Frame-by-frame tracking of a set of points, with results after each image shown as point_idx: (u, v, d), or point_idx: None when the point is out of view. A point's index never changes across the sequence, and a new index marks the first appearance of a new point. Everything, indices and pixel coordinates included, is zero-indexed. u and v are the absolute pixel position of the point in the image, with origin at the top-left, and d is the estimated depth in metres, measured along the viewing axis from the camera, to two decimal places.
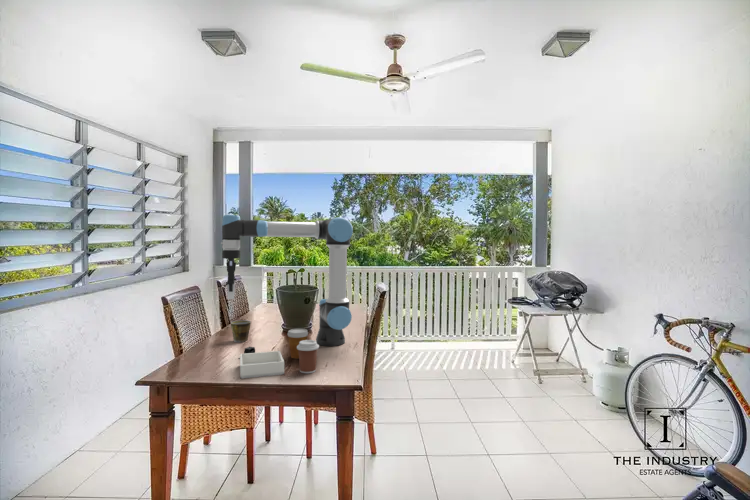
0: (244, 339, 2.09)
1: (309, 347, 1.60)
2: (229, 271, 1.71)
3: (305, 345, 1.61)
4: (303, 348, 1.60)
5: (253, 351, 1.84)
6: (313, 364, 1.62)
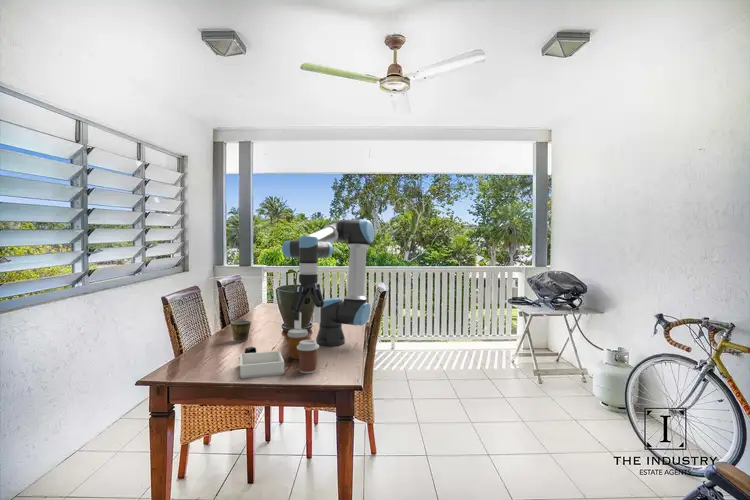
0: (244, 339, 2.09)
1: (309, 347, 1.60)
2: (294, 298, 1.56)
3: (305, 345, 1.61)
4: (303, 348, 1.60)
5: (254, 351, 1.83)
6: (313, 364, 1.62)
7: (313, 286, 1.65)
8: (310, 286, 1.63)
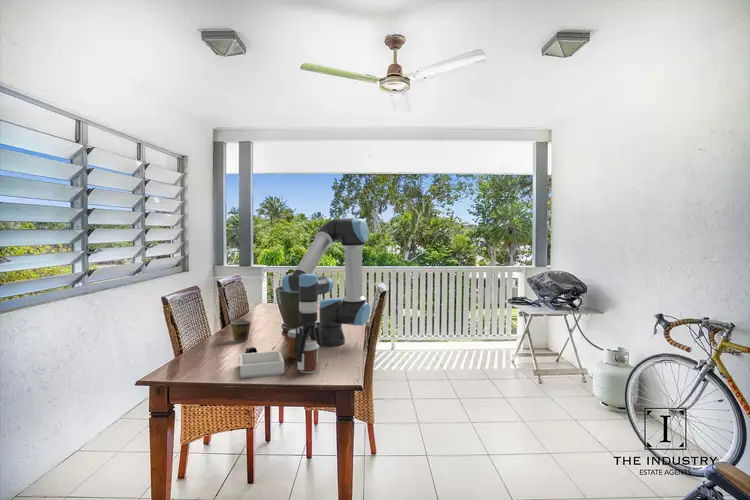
0: (244, 339, 2.09)
1: (309, 347, 1.60)
2: (296, 340, 1.58)
3: (305, 345, 1.61)
4: None
5: (254, 352, 1.82)
6: (313, 364, 1.62)
7: (313, 323, 1.65)
8: (310, 324, 1.63)
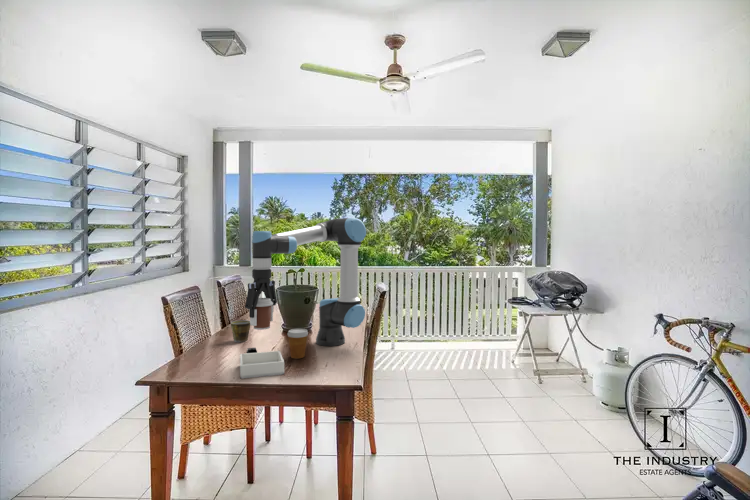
0: (244, 339, 2.09)
1: (262, 303, 1.61)
2: (248, 295, 1.58)
3: (258, 301, 1.61)
4: (256, 304, 1.60)
5: None
6: (266, 321, 1.62)
7: (267, 280, 1.66)
8: (264, 281, 1.64)
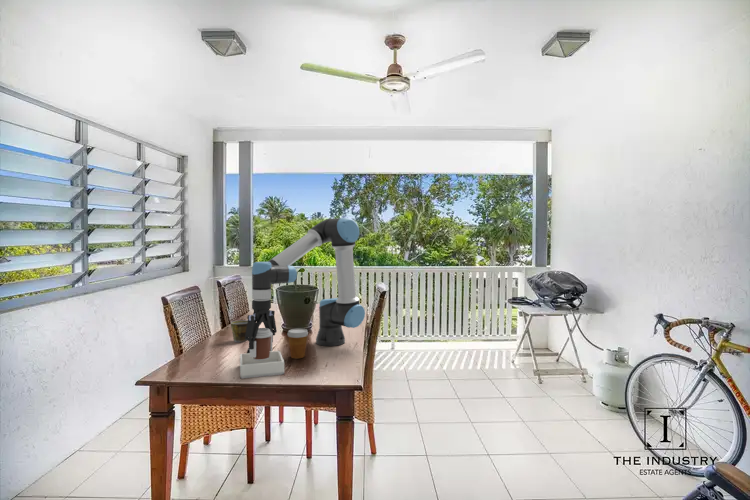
0: (244, 339, 2.09)
1: (261, 335, 1.61)
2: (247, 327, 1.58)
3: (257, 333, 1.61)
4: None
5: None
6: (266, 352, 1.63)
7: (267, 311, 1.66)
8: (263, 312, 1.64)
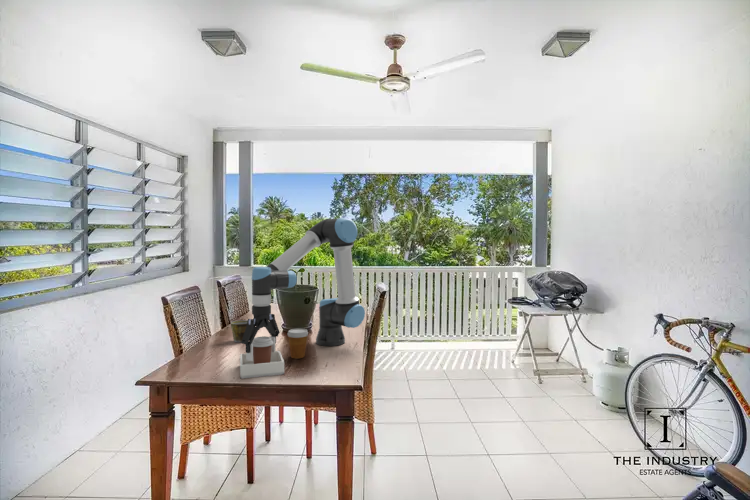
0: None
1: (262, 343, 1.61)
2: (246, 330, 1.58)
3: (258, 341, 1.62)
4: (256, 344, 1.61)
5: None
6: (267, 360, 1.63)
7: (267, 317, 1.66)
8: (263, 317, 1.64)
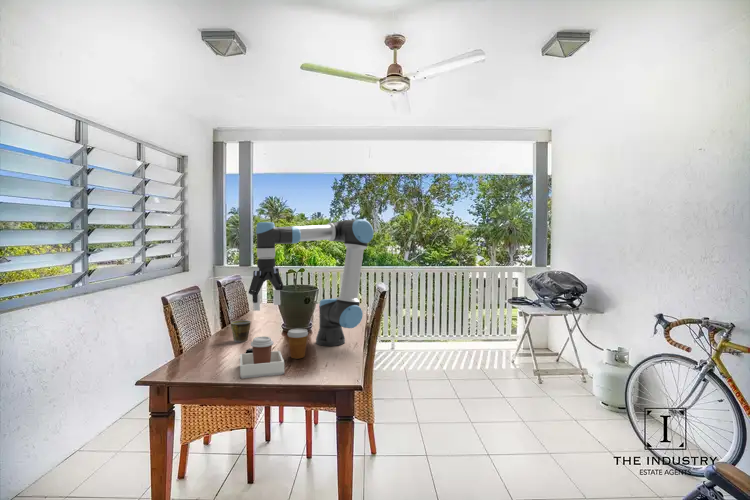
0: (244, 339, 2.09)
1: (262, 343, 1.61)
2: (252, 281, 1.64)
3: (258, 341, 1.61)
4: (256, 344, 1.61)
5: None
6: (267, 360, 1.63)
7: (271, 270, 1.73)
8: (268, 270, 1.71)
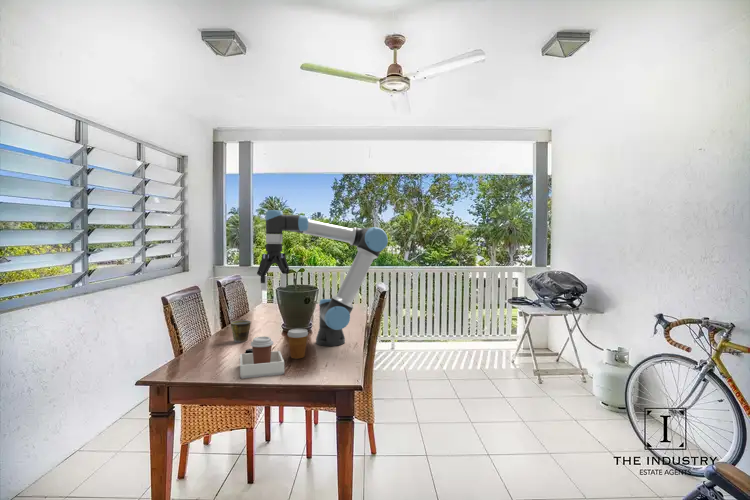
0: (244, 339, 2.09)
1: (262, 343, 1.61)
2: (261, 263, 1.80)
3: (258, 341, 1.61)
4: (256, 344, 1.61)
5: None
6: (267, 360, 1.63)
7: (279, 254, 1.88)
8: (276, 254, 1.86)
